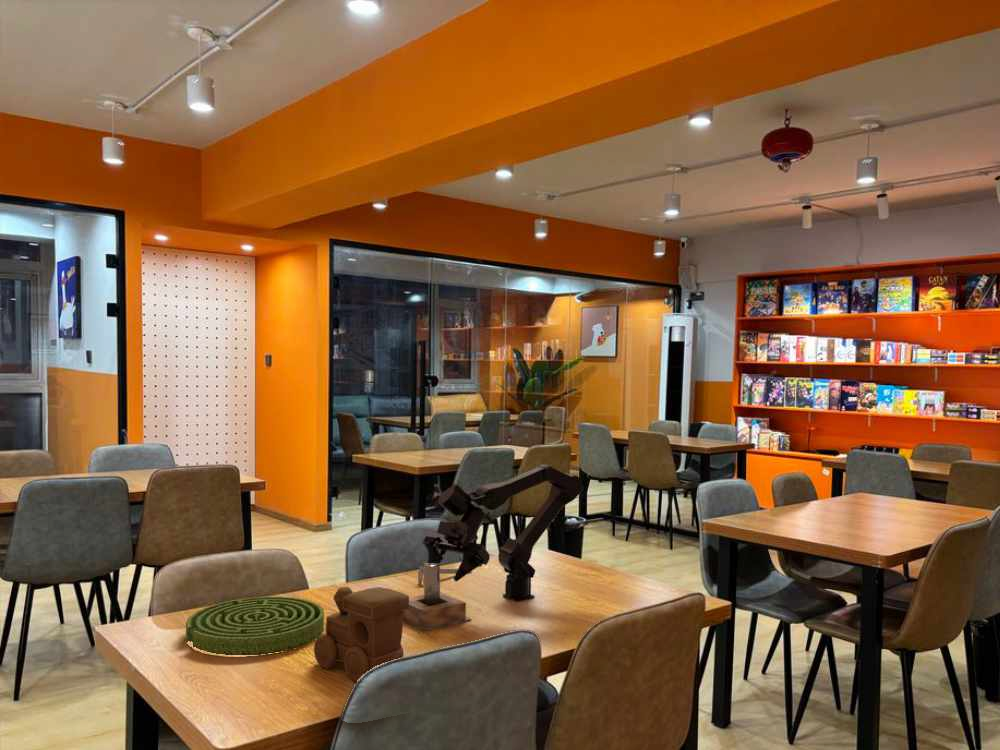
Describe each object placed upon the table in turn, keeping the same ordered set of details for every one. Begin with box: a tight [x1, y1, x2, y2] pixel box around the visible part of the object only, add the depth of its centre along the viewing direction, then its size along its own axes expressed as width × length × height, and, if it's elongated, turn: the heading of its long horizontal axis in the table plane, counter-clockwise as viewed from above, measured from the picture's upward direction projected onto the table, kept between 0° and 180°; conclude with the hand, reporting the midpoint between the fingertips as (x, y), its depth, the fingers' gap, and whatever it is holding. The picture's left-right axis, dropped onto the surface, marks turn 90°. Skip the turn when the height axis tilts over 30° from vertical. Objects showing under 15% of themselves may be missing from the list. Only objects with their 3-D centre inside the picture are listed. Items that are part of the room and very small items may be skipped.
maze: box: [185, 596, 325, 655], centre depth 184 cm, size 31×31×5 cm
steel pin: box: [423, 562, 441, 606], centre depth 196 cm, size 4×4×13 cm
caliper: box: [417, 562, 459, 585], centre depth 234 cm, size 20×1×6 cm, turn 134°
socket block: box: [403, 591, 472, 633], centre depth 196 cm, size 14×14×4 cm
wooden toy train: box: [313, 586, 410, 682], centre depth 163 cm, size 20×11×17 cm, turn 49°
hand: (441, 577), depth 198 cm, fingers open, 9 cm apart
